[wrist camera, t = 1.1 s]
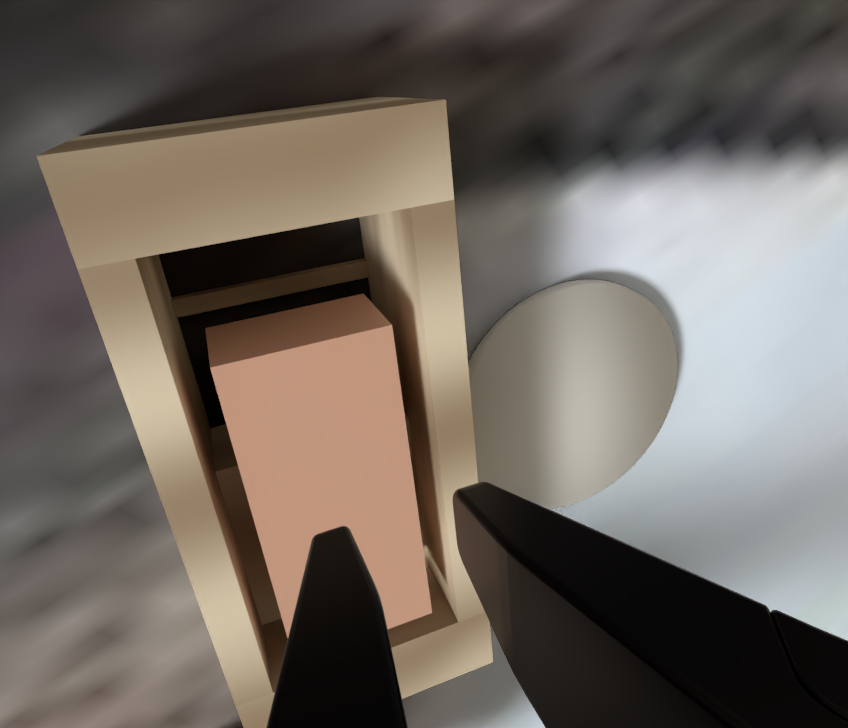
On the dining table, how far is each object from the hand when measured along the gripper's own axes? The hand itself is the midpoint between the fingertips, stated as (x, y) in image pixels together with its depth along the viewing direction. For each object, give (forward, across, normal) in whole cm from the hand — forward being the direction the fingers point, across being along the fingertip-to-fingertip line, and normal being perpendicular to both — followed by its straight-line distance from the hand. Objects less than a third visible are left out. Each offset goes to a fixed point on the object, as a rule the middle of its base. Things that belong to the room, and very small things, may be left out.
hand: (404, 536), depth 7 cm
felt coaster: (+12, -10, +7) cm, 17 cm away
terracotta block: (+10, 0, +5) cm, 11 cm away
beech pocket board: (+12, 0, +4) cm, 13 cm away
